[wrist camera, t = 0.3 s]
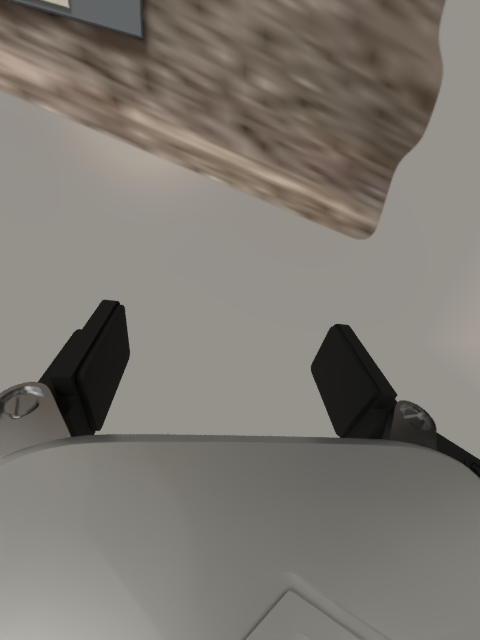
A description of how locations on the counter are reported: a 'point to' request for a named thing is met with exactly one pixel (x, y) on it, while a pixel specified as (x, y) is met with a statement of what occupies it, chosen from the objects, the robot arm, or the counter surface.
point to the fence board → (96, 13)
